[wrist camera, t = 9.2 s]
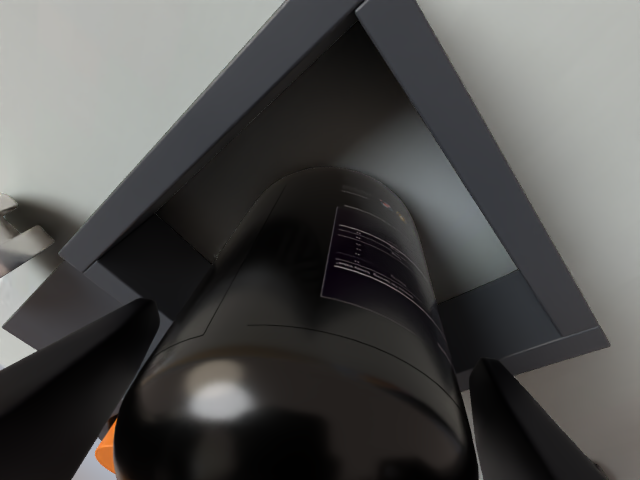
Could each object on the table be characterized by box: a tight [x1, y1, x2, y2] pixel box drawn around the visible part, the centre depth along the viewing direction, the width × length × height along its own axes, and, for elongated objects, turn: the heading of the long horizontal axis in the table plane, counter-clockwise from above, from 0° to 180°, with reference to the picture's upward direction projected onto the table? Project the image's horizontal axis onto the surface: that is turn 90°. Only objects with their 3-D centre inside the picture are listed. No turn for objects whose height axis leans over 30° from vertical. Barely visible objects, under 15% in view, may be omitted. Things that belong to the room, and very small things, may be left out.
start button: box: [95, 419, 117, 474], centre depth 17 cm, size 4×4×2 cm
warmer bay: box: [58, 0, 610, 392], centre depth 12 cm, size 12×12×4 cm
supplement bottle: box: [113, 167, 479, 480], centre depth 8 cm, size 7×7×12 cm
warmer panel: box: [2, 260, 163, 441], centre depth 17 cm, size 12×11×4 cm
